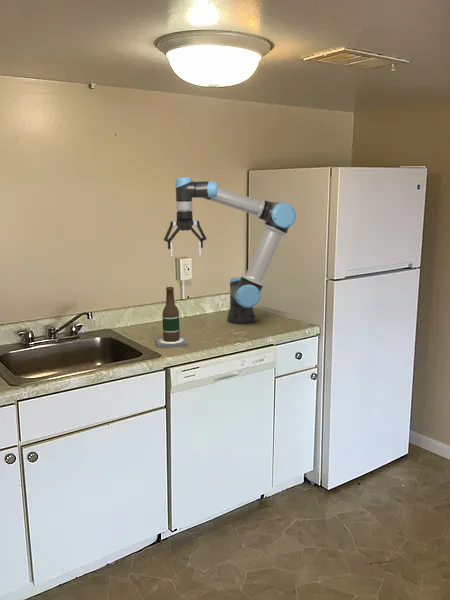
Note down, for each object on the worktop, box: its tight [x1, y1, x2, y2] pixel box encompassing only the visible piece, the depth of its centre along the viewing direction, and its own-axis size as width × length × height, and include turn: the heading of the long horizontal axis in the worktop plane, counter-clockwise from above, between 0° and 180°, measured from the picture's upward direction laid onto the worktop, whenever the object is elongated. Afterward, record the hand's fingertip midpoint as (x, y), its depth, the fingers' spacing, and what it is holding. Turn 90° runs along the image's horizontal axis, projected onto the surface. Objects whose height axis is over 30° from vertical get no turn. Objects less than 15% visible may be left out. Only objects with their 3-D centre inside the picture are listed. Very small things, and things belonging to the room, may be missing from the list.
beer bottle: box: [161, 286, 181, 342], centre depth 246 cm, size 8×8×24 cm
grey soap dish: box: [155, 336, 188, 349], centre depth 249 cm, size 13×11×2 cm
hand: (185, 255), depth 266 cm, fingers open, 13 cm apart
